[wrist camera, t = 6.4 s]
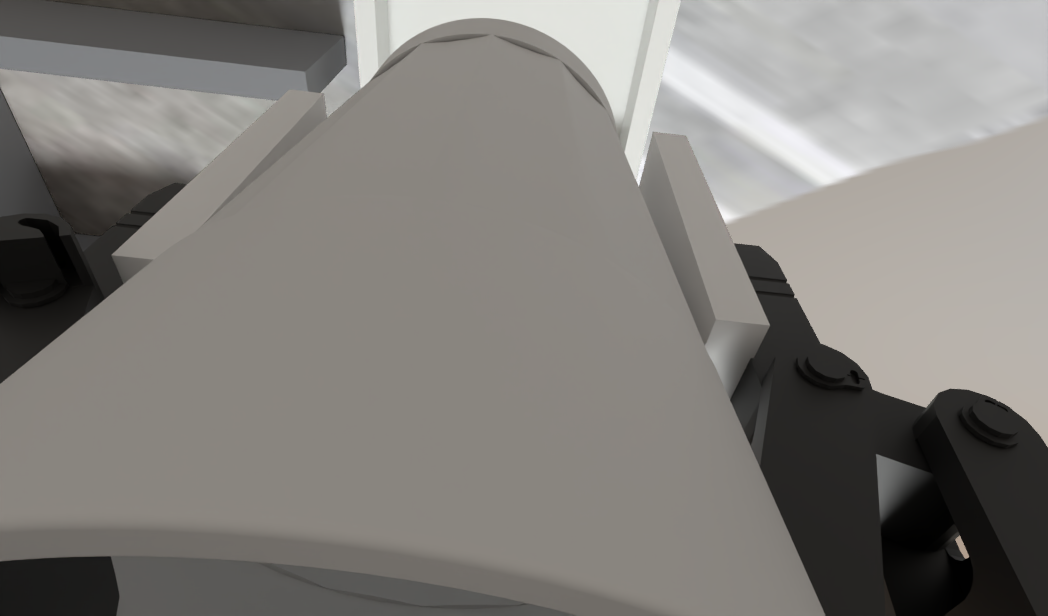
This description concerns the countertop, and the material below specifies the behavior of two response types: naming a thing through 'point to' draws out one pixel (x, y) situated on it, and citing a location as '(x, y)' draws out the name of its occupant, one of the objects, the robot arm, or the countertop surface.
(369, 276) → the cup
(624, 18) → the tray
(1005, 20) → the countertop surface
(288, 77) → the box
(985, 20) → the countertop surface
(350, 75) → the countertop surface
